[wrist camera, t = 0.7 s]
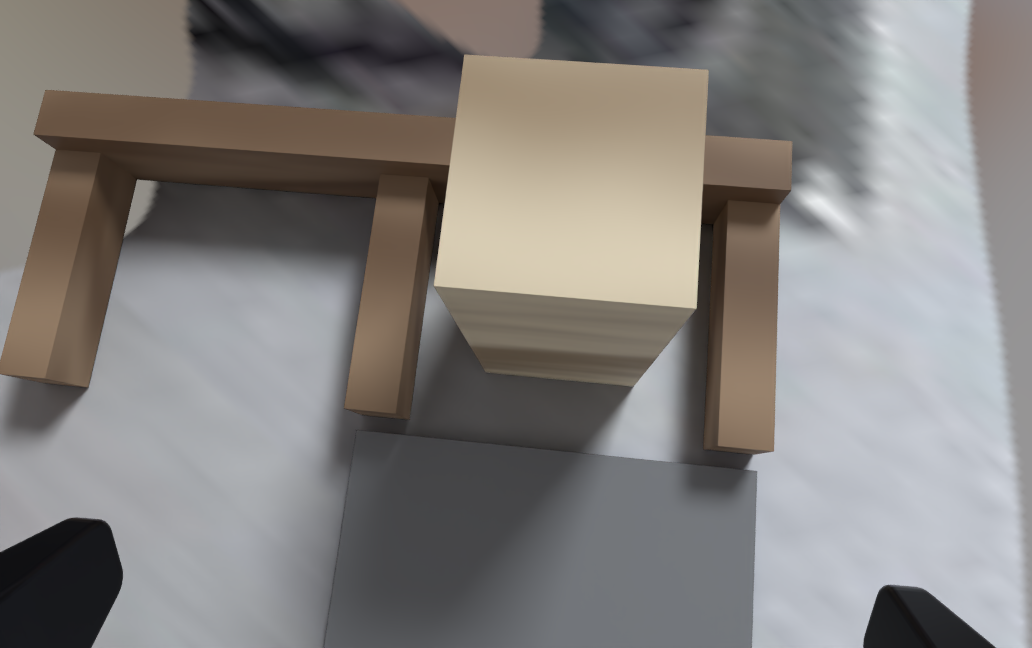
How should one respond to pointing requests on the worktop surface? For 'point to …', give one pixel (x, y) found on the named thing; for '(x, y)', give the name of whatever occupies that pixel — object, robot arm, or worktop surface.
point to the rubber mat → (539, 549)
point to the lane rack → (393, 243)
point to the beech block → (573, 215)
